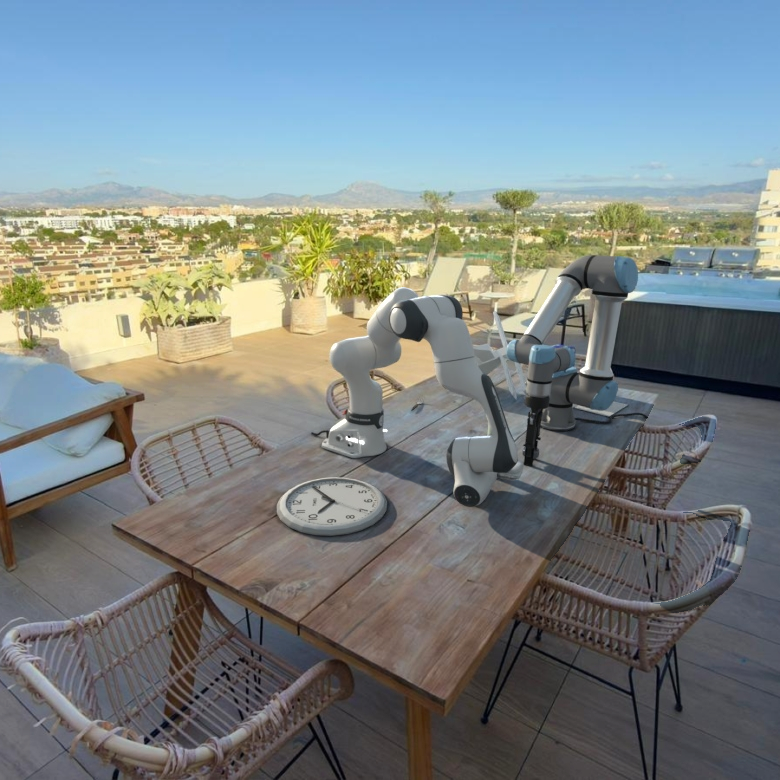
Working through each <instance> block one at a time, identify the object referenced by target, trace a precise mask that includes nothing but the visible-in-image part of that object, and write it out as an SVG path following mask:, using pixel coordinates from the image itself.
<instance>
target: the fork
mask: <svg viewBox="0 0 780 780" xmlns="http://www.w3.org/2000/svg"><path fill="white" fill-rule="evenodd" d="M424 401H425V396H421V395H420V396H419V397H418V400H417V402H416V404H415V405H414V406H413V407H412V408H411V410H410V411H411V412H413V411H414V410H415V409H417V407H418V406H419V405H422V404H423V403H424Z"/></svg>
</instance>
